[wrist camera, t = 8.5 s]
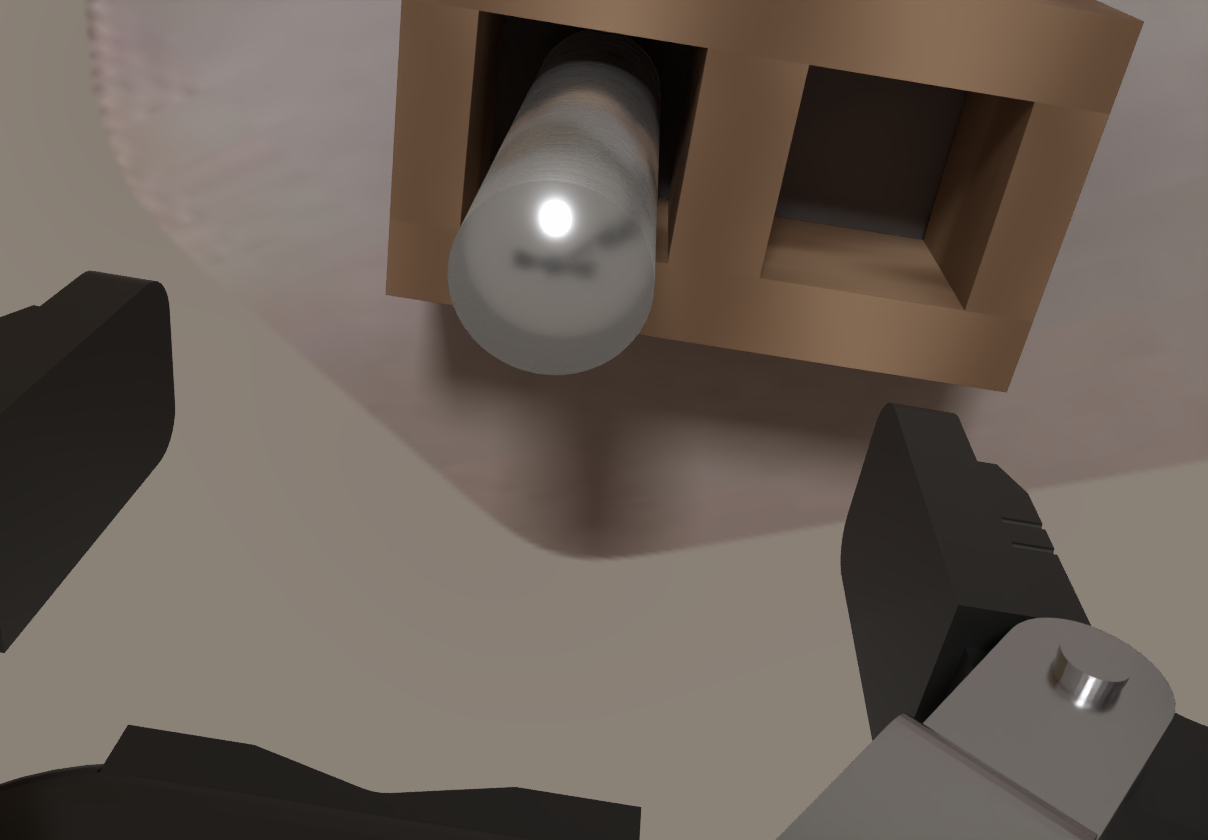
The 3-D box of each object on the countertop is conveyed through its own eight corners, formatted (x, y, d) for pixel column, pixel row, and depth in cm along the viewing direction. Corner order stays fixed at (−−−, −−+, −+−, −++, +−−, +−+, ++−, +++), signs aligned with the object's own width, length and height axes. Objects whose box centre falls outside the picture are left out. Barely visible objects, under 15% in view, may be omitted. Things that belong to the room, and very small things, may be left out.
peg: (670, 40, 26) (671, 199, 15) (649, 165, 27) (636, 389, 17) (543, 19, 26) (455, 164, 15) (529, 145, 27) (440, 358, 17)
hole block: (1068, -13, 25) (1143, 21, 21) (960, 312, 29) (1006, 392, 25) (449, -116, 24) (407, -102, 20) (425, 227, 28) (385, 294, 24)
